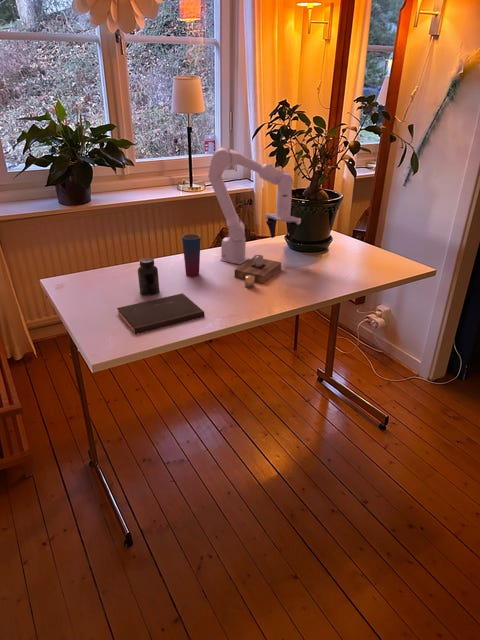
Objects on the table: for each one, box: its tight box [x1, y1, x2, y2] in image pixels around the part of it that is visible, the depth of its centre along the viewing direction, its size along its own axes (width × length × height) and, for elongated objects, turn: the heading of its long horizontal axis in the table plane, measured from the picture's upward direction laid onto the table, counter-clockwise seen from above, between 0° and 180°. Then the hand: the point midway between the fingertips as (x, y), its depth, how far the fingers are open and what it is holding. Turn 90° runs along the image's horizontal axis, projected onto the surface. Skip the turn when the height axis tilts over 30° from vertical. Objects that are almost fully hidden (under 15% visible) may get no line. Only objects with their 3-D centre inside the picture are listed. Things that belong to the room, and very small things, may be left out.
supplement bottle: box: [137, 257, 160, 296], centre depth 161 cm, size 7×7×12 cm
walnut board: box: [234, 256, 282, 284], centre depth 180 cm, size 12×16×3 cm
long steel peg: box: [253, 254, 264, 269], centre depth 179 cm, size 3×3×7 cm
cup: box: [181, 233, 201, 278], centre depth 175 cm, size 7×7×15 cm
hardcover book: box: [116, 293, 205, 335], centre depth 149 cm, size 16×23×2 cm
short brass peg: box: [244, 275, 255, 290], centre depth 169 cm, size 3×3×4 cm
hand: (281, 238), depth 189 cm, fingers open, 7 cm apart
